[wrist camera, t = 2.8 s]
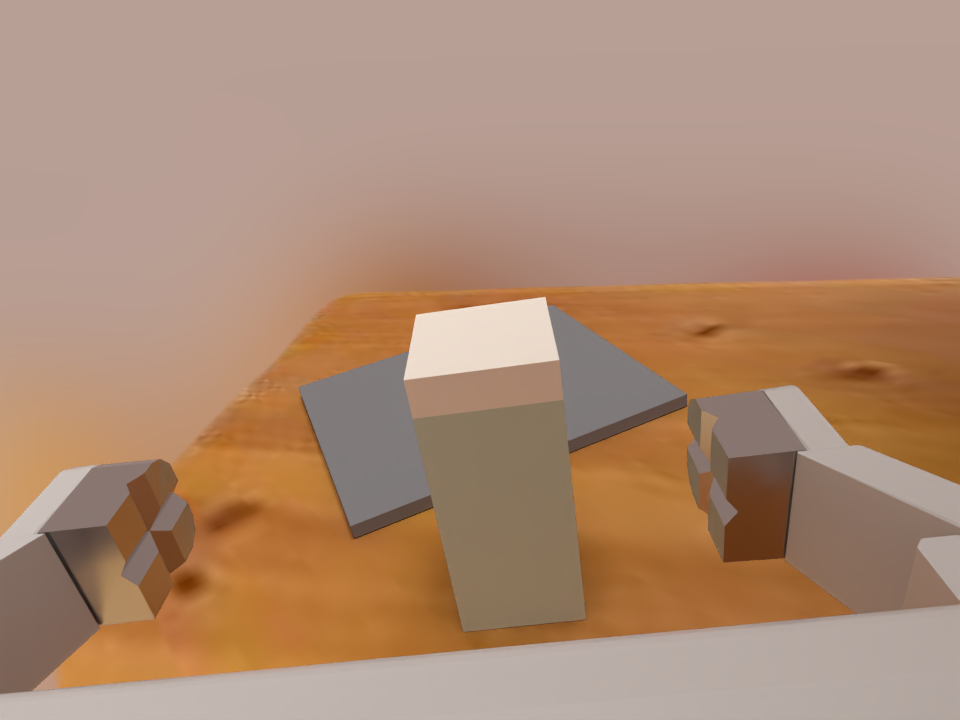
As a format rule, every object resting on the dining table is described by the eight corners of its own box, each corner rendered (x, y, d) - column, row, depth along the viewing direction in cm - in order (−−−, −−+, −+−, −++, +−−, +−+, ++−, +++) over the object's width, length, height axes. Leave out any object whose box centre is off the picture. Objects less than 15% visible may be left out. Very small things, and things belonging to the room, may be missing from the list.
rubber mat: (553, 314, 51) (552, 304, 51) (686, 405, 38) (686, 394, 38) (301, 396, 46) (298, 387, 45) (354, 538, 32) (350, 526, 32)
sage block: (570, 531, 31) (545, 297, 25) (586, 619, 26) (559, 360, 21) (465, 543, 31) (416, 314, 25) (463, 632, 27) (403, 380, 21)
